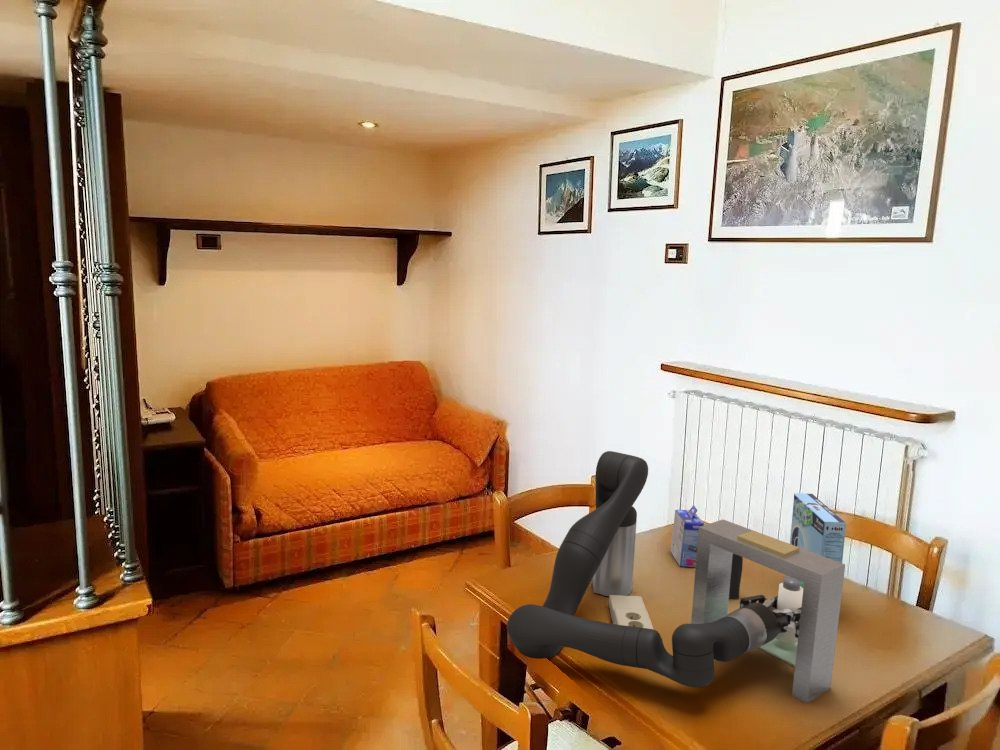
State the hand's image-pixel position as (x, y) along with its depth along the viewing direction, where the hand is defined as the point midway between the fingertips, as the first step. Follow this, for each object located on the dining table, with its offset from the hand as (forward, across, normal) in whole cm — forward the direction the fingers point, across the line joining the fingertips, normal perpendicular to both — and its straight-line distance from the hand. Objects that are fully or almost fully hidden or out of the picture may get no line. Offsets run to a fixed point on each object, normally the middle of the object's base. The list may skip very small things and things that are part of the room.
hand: (796, 604), depth 144 cm
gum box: (+21, -8, -9) cm, 24 cm away
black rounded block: (+6, -21, -9) cm, 24 cm away
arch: (-13, 0, -9) cm, 15 cm away
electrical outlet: (-24, -23, -9) cm, 34 cm away
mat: (-3, 0, -8) cm, 9 cm away
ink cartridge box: (+14, -39, -9) cm, 42 cm away
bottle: (-3, 0, -6) cm, 7 cm away
